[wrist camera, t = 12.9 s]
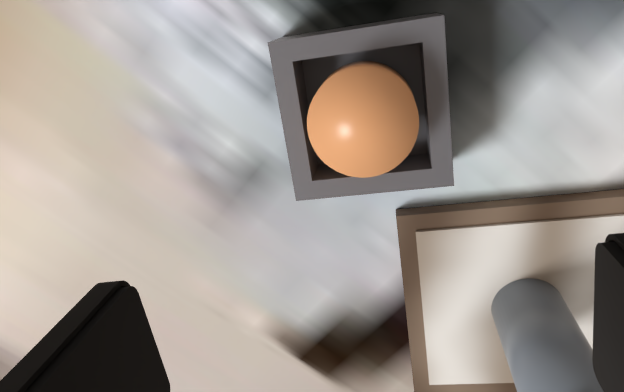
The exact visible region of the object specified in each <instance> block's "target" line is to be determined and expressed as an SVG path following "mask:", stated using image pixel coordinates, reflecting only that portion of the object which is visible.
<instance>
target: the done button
mask: <svg viewBox="0 0 624 392" xmlns="http://www.w3.org/2000/svg"><path fill="white" fill-rule="evenodd" d="M307 131H308V136H309V140H310V142H311V145H312V147H313V149H314V151H315V152H316V154H317V155H318V156H319V158H320V159H321V160H322V161H323V162H324V163H325V164H326V165H328V166H329V167H330V168H332V169H333V170H335V171H337V172H339V173H341V174H344V175H347V176H352V177H359V178H366V177H374V176H378V175H381V174H384V173H386V172H389V171H390V170H392V169H394V168H395V167H397V166H398V165H399V164H400V163H401V162H402V161H403V160H404V159H405V158H406V157H407V156H408V155H409V153H410V152H411V150H412V148H413V147H414V144H415V142H416V139H417V135H418V131H419V114H418V109H417V106H416V102H415V99H414V96H413V93H412V91H411V88H410V86H409V85H408V83H407V82H406V80H405V79H404V78H403V77H402V76H401V75H400V74H399V73H398V72H397V71H395V70H394V69H392V68H391V67H389V66H387V65H385V64H382V63H379V62H374V61H357V62H352V63H349V64H346V65H344V66H342V67H340V68H338V69H337V70H335V71H334V72H333V73H332V74H330V75H329V76H328V77H327V79H326V80H325V81H324V82H323V84H322V85H321V86H320V88H319V89H318V91H317V92H316V94H315V95H314V97H313V99H312V101H311V103H310V107H309V110H308V115H307Z"/></svg>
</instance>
